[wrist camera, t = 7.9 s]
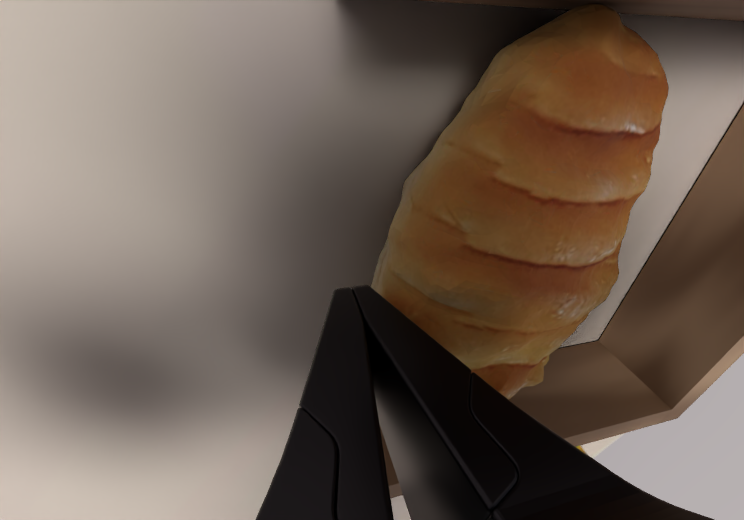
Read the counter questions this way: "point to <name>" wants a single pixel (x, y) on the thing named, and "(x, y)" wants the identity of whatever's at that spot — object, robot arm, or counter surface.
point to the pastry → (528, 197)
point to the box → (655, 295)
